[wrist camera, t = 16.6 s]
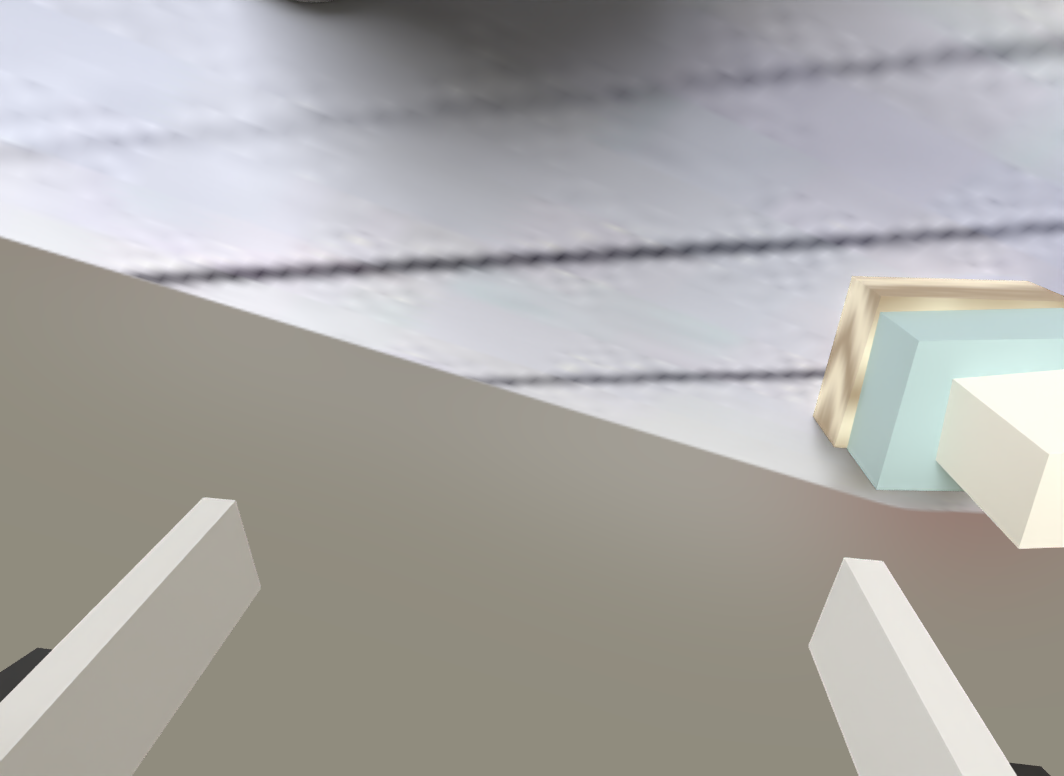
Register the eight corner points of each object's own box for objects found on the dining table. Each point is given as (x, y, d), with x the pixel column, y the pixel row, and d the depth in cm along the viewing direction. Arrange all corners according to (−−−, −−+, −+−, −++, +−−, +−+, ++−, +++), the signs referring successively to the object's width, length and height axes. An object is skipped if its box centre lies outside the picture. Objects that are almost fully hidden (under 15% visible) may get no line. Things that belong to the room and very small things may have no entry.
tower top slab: (880, 311, 36) (918, 340, 32) (1062, 307, 35) (1129, 337, 31) (846, 448, 41) (876, 489, 37) (1004, 449, 40) (1055, 492, 36)
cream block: (952, 378, 33) (1049, 454, 26) (1066, 369, 32) (1199, 445, 25) (935, 460, 36) (1018, 548, 29) (1039, 453, 35) (1152, 544, 28)
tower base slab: (850, 274, 40) (881, 296, 36) (1024, 279, 39) (1078, 302, 35) (811, 414, 46) (834, 447, 42) (963, 421, 45) (1002, 456, 40)
